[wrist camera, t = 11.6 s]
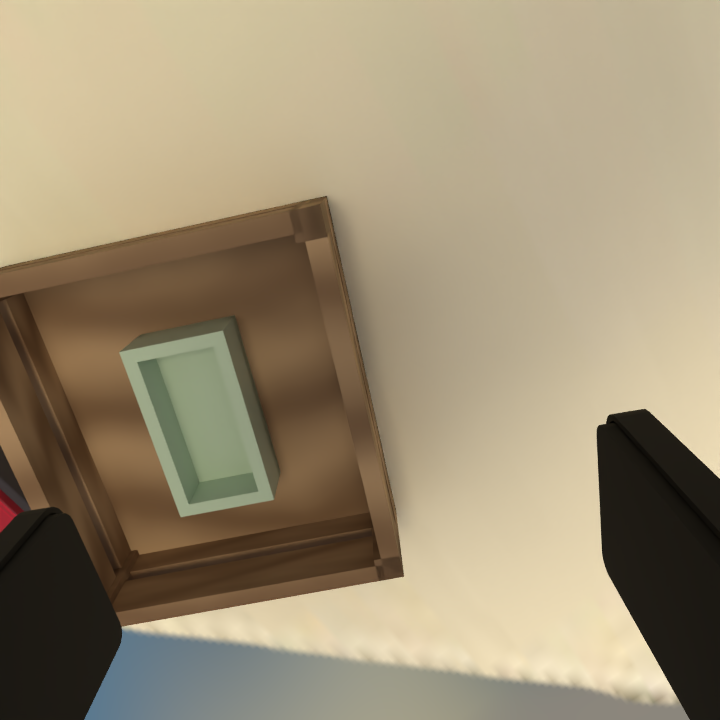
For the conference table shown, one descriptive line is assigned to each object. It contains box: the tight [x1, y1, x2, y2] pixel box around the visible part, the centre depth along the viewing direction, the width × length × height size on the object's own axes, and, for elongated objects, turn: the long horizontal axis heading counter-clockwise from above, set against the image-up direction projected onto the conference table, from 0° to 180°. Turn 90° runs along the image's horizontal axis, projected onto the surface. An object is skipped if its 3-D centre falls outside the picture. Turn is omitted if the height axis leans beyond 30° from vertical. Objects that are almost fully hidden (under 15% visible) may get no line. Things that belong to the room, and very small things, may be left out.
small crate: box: [119, 315, 281, 517], centre depth 31 cm, size 10×5×3 cm, turn 12°
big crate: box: [0, 196, 404, 627], centre depth 31 cm, size 20×18×6 cm
